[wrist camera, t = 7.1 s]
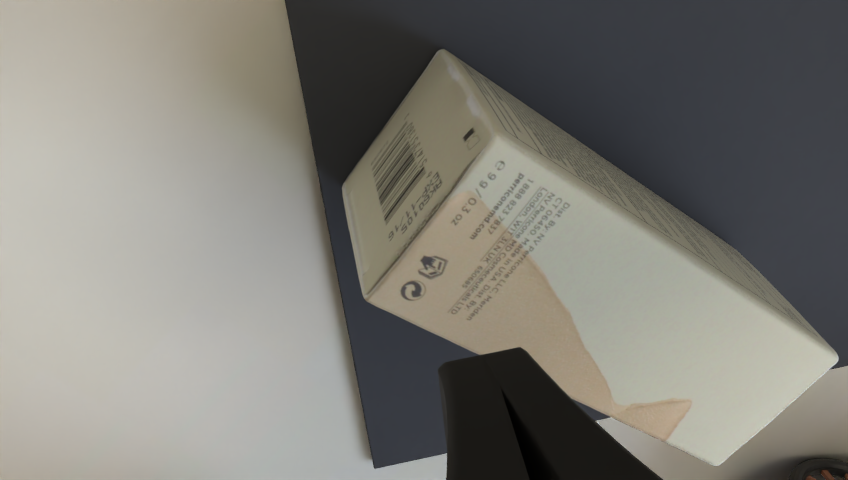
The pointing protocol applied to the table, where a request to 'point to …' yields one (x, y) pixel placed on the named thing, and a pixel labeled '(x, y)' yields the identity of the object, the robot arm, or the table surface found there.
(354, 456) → the table surface
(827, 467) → the toy truck
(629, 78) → the mat
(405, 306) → the box
